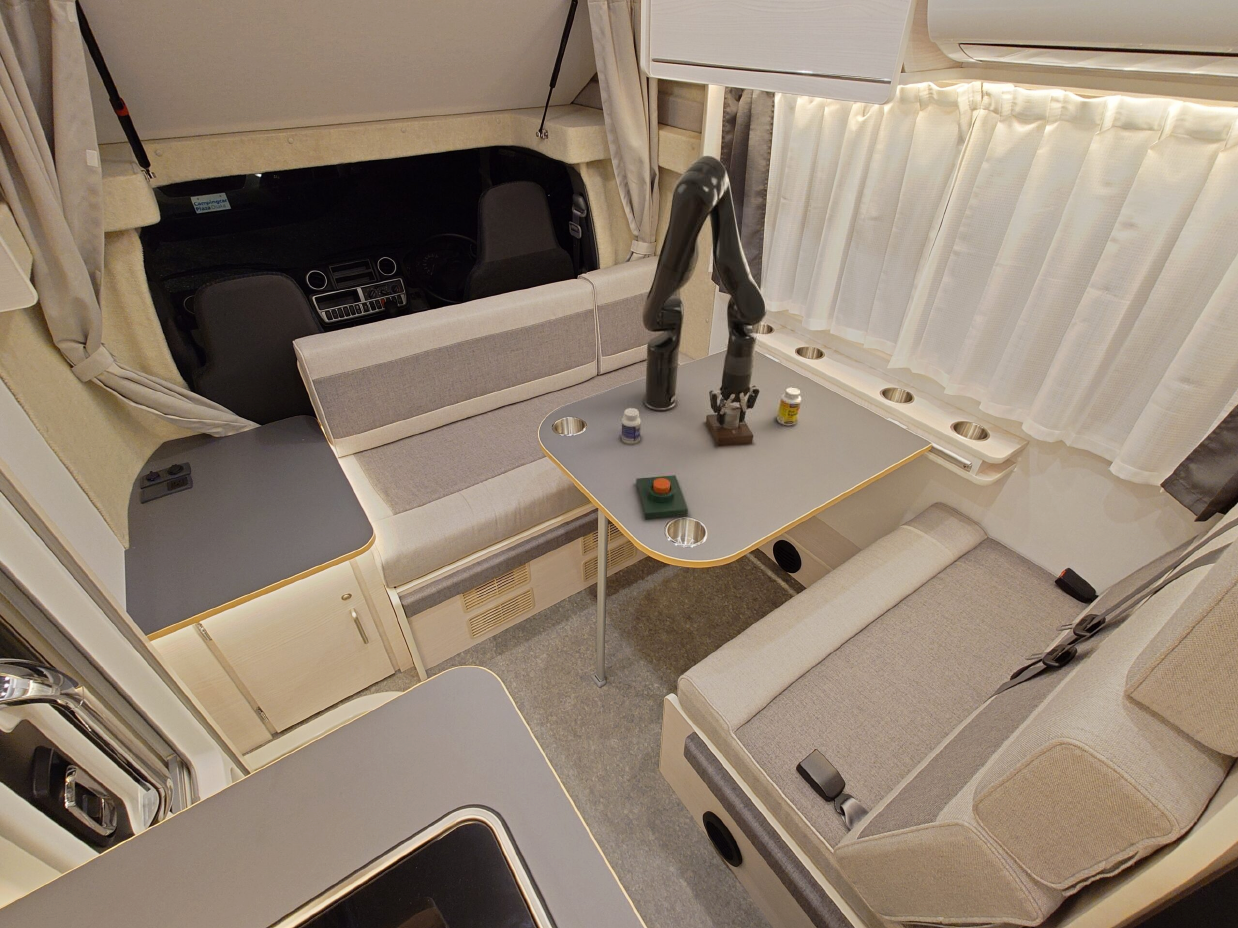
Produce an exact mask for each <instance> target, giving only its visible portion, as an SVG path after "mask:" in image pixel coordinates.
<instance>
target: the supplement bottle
mask: <svg viewBox="0 0 1238 928" xmlns="http://www.w3.org/2000/svg"><path fill="white" fill-rule="evenodd" d="M801 404H802V397H801V391H800V389H798V388H796V387H788V388H786V390H785V392H784V393H783V394H782V395H781V398H780V402H779V407H778V412H777V416H776V420H777V422H778V423H779V424H781V425H784V426H793V425H795V424H796V423H797V419H798V415H799V411H800V408H801Z"/></svg>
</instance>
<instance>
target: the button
mask: <svg viewBox="0 0 1238 928" xmlns="http://www.w3.org/2000/svg"><path fill="white" fill-rule="evenodd" d="M653 490H654V491H655V492H656V493H659V494H666V493H668V492H669V491H670V482H669V480H667V479H665V478H658V479H656V480H655V481H654V483H653Z"/></svg>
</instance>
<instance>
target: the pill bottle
mask: <svg viewBox="0 0 1238 928" xmlns="http://www.w3.org/2000/svg"><path fill="white" fill-rule="evenodd" d="M641 426H642V421H641V418H640V412H639V409H637V408H633V407H629V408H626V409H625V410H624V411H623V417H622V419H621V434H620V435H621V437H620V438H621V440H622V442H623V443H625V444H629V445H630V444H633V445H634V444H636V443H639V442H640V440H641V429H642V427H641Z"/></svg>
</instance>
